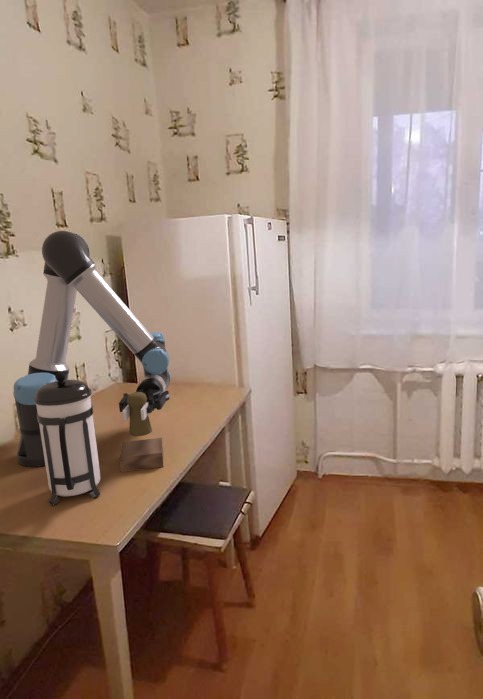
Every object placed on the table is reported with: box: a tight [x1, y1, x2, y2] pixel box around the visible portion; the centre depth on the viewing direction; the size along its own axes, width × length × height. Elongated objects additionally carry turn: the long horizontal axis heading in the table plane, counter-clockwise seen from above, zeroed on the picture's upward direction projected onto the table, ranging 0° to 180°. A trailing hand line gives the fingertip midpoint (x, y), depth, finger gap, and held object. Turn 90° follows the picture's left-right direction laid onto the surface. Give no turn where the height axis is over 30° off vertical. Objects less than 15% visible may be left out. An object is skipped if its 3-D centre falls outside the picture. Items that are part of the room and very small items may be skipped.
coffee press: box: [34, 372, 101, 506], centre depth 118 cm, size 17×16×30 cm
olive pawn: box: [127, 391, 153, 437], centre depth 135 cm, size 6×6×11 cm
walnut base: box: [118, 437, 164, 473], centre depth 138 cm, size 11×11×4 cm
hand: (133, 415), depth 130 cm, fingers closed on olive pawn, 4 cm apart
